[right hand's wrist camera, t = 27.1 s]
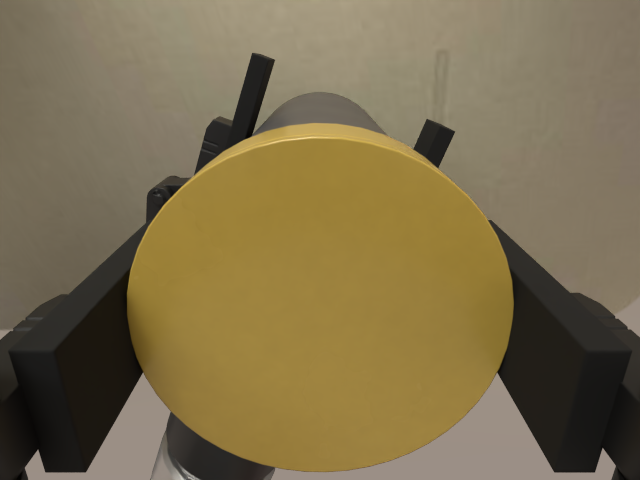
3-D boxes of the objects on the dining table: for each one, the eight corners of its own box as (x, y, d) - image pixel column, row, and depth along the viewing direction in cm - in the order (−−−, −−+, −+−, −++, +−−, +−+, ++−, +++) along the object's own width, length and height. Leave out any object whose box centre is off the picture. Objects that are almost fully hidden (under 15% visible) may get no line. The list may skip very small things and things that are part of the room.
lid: (164, 402, 14) (137, 460, 12) (151, 105, 10) (110, 115, 8) (446, 422, 14) (467, 483, 12) (518, 140, 11) (564, 159, 9)
